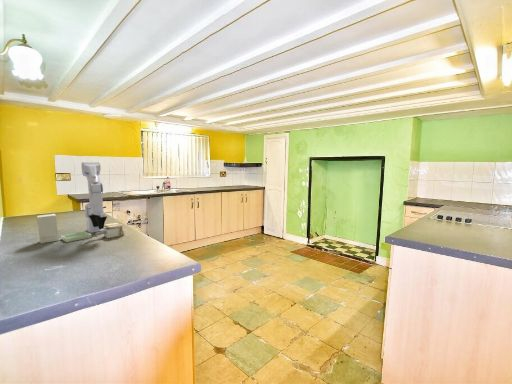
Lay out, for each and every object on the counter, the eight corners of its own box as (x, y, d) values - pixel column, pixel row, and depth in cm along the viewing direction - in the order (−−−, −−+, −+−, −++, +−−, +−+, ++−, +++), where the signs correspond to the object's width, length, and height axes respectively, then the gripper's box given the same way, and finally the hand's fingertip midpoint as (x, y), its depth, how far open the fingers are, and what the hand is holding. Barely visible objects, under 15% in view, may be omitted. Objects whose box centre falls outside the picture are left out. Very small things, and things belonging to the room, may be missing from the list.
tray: (61, 239, 148) (60, 235, 148) (85, 234, 158) (85, 231, 158) (67, 242, 142) (66, 238, 142) (91, 237, 152) (91, 234, 152)
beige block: (104, 235, 156) (103, 224, 155) (117, 232, 162) (117, 222, 162) (110, 238, 151) (109, 227, 150) (124, 235, 157) (123, 224, 156)
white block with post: (94, 238, 150) (93, 229, 150) (117, 233, 161) (117, 225, 160) (98, 240, 147) (97, 231, 146) (122, 235, 158) (121, 226, 157)
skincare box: (58, 238, 149) (56, 213, 148) (58, 241, 145) (56, 215, 143) (39, 241, 144) (37, 215, 142) (39, 243, 140) (36, 216, 138)
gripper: (84, 204, 149) (85, 227, 151) (94, 206, 140) (96, 231, 142) (97, 202, 155) (99, 224, 156) (108, 205, 146) (109, 228, 147)
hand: (98, 227), depth 149 cm, fingers open, 7 cm apart
